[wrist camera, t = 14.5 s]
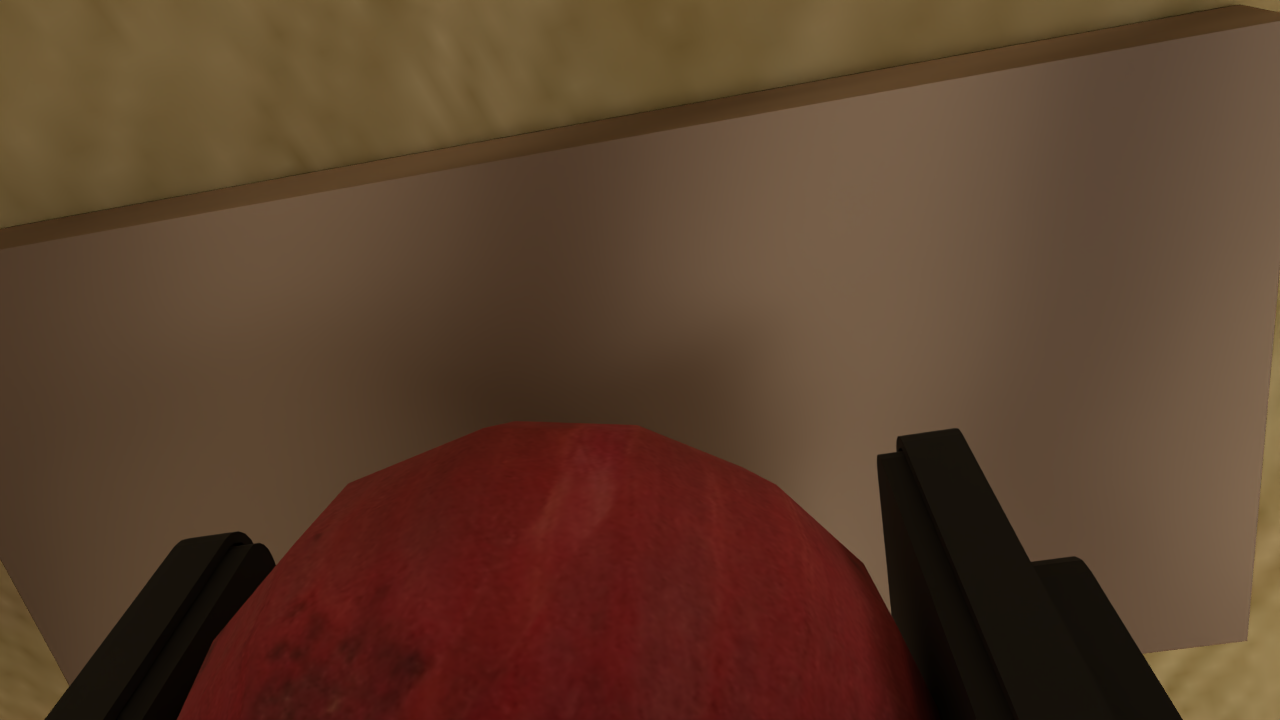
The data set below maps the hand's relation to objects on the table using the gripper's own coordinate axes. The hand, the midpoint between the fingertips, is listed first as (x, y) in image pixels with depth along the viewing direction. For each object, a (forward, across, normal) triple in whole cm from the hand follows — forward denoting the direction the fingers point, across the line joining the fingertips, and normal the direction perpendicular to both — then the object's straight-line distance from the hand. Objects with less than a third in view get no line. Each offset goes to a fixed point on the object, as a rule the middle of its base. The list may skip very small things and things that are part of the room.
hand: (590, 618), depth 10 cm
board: (+4, 0, 0) cm, 4 cm away
